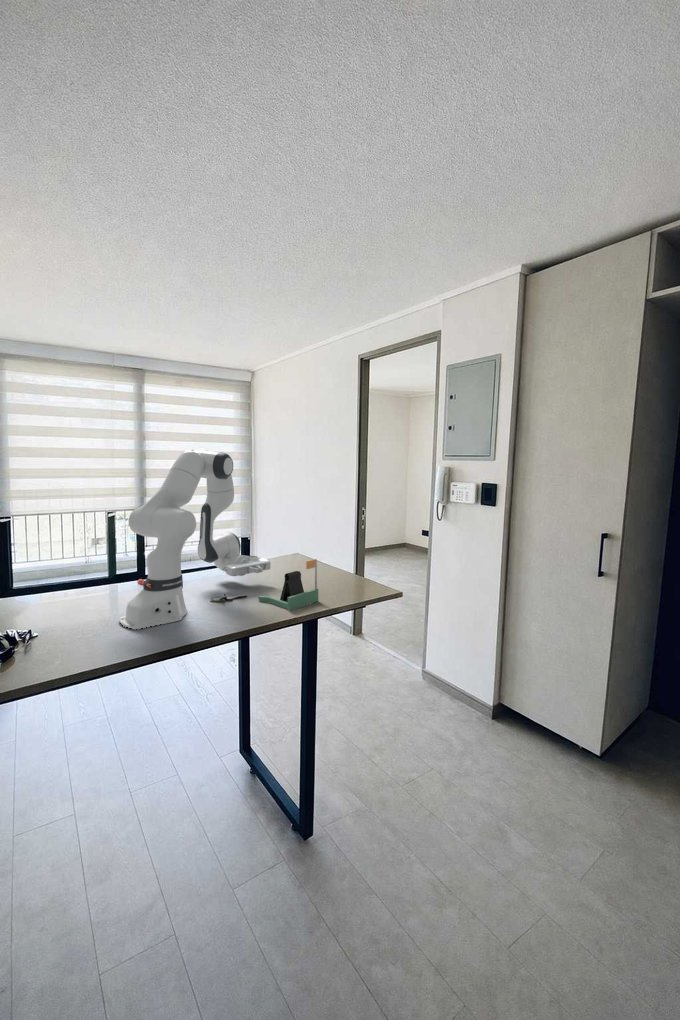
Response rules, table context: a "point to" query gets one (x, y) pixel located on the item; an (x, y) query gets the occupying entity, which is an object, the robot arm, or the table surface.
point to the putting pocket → (298, 599)
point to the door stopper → (292, 585)
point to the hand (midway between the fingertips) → (259, 570)
